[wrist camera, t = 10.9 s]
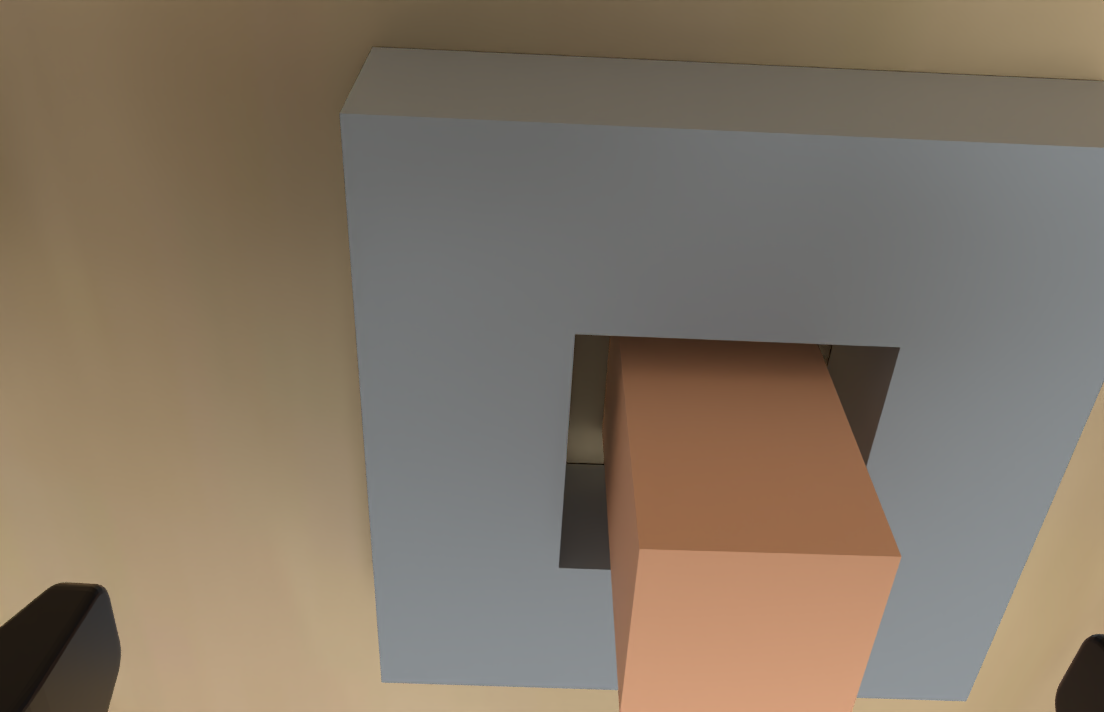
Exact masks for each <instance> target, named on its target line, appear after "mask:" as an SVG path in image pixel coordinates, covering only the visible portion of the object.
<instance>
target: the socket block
mask: <svg viewBox="0 0 1104 712" xmlns="http://www.w3.org/2000/svg"><path fill="white" fill-rule="evenodd" d="M340 126H341V140H342V153H343V167H344V180H345V194H346V207H347V221H348V234H349V248H350V261H351V275H352V288H353V302H354V315H355V329H356V342H357V356H358V369H359V383H360V396H361V410H362V423H363V437H364V450H365V464H366V477H367V491H368V504H369V518H370V531H371V545H372V558H373V572H374V585H375V599H376V612H377V626H378V639H379V653H380V666H381V680H382V682H385V683H416V684H447V685H478V686H509V687H541V688H572V689H603V690H618V679H617V663H616V647H615V630H614V614H613V598H612V582H611V566H610V549H609V533H608V517H607V501H606V485H605V468H604V465H589V464H566V456H567V442H568V427H569V413H570V399H571V384H572V370H573V355H574V341H575V334H582V335H607V336H632V337H657V338H682V339H706V340H731V341H756V342H781V343H806V344H830V345H832V349H831V354H830V358H829V362H828V366H827V369H828V371H829V374H830V376H831V379H832V381H833V384H834V387H835V389H836V392H837V394H838V397H839V399H840V402H841V404H842V407H843V409H844V412H845V414H846V417H847V420H848V422H849V425H850V427H851V430H852V432H853V435H854V437H855V440H856V442H857V445H858V447H859V450H860V453H861V455H862V458H863V460H864V463H865V465H866V468H867V470H868V473H869V475H870V478H871V480H872V483H873V486H874V488H875V491H876V493H877V496H878V498H879V501H880V503H881V506H882V508H883V511H884V514H885V516H886V519H887V521H888V524H889V526H890V529H891V531H892V534H893V536H894V539H895V541H896V544H897V547H898V549H899V552H900V554H901V560H900V563H899V566H898V569H897V572H896V576H895V579H894V582H893V585H892V588H891V591H890V594H889V597H888V601H887V604H886V607H885V610H884V613H883V616H882V619H881V622H880V625H879V629H878V632H877V635H876V638H875V641H874V644H873V647H872V650H871V654H870V657H869V660H868V663H867V666H866V669H865V672H864V675H863V678H862V682H861V685H860V688H859V691H858V694H857V697H856V698H883V699H914V700H945V701H966V700H967V698H968V696H969V694H970V691H971V689H972V687H973V684H974V682H975V680H976V677H977V675H978V673H979V670H980V668H981V666H982V663H983V661H984V659H985V656H986V654H987V652H988V649H989V647H990V645H991V642H992V640H993V638H994V635H995V633H996V631H997V628H998V626H999V624H1000V621H1001V619H1002V617H1003V614H1004V612H1005V610H1006V608H1007V605H1008V603H1009V601H1010V598H1011V596H1012V594H1013V591H1014V589H1015V587H1016V584H1017V582H1018V580H1019V577H1020V575H1021V573H1022V570H1023V568H1024V566H1025V563H1026V561H1027V559H1028V556H1029V554H1030V552H1031V549H1032V547H1033V545H1034V542H1035V540H1036V538H1037V535H1038V533H1039V531H1040V528H1041V526H1042V524H1043V522H1044V519H1045V517H1046V515H1047V512H1048V510H1049V508H1050V505H1051V503H1052V501H1053V498H1054V496H1055V494H1056V491H1057V489H1058V487H1059V484H1060V482H1061V480H1062V477H1063V475H1064V473H1065V470H1066V468H1067V466H1068V463H1069V461H1070V459H1071V456H1072V454H1073V452H1074V449H1075V447H1076V445H1077V442H1078V440H1079V438H1080V436H1081V433H1082V431H1083V429H1084V426H1085V424H1086V422H1087V419H1088V417H1089V415H1090V412H1091V410H1092V408H1093V405H1094V403H1095V401H1096V398H1097V396H1098V394H1099V391H1100V389H1101V387H1102V384H1103V382H1104V81H1091V80H1070V79H1048V78H1027V77H1005V76H984V75H963V74H941V73H920V72H898V71H877V70H856V69H834V68H813V67H791V66H770V65H749V64H727V63H706V62H685V61H663V60H642V59H620V58H599V57H578V56H556V55H535V54H513V53H492V52H471V51H449V50H428V49H406V48H385V47H372V49H371V51H370V53H369V55H368V57H367V59H366V61H365V63H364V65H363V67H362V69H361V71H360V73H359V75H358V77H357V79H356V81H355V83H354V85H353V87H352V89H351V91H350V93H349V95H348V97H347V99H346V101H345V103H344V105H343V107H342V109H341V111H340Z"/></svg>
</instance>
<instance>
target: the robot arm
mask: <svg viewBox="0 0 1104 712" xmlns="http://www.w3.org/2000/svg"><path fill="white" fill-rule="evenodd" d="M120 659H121V646H120V641H119V636H118V632H117V628H116V623H115V619H114V615H113V610H112V606H111V602H110V597H109V595H108V592H107V590H106V589H105V588H104V587H103V586H102V585H98V584H86V583H58V584H55V585H53V586H51V587H50V588H48V589H47V590H45V591H44V592H43V593H42V594H40V595H39V596H38V597H37V598H36V599H34V600H33V601H32V602H31V603H29V604H28V605H27V606H26V607H24V608H23V609H22V610H21V611H20V612H18V613H17V614H16V615H15V616H13V617H12V618H11V619H10V620H8V621H7V622H6V623H5V624H4V625H2V626H1V627H0V712H108V708H109V705H110V701H111V697H112V694H113V690H114V687H115V683H116V679H117V676H118V672H119V667H120ZM1055 708H1056V712H1104V634H1095V635H1092V636H1090V637H1088V638H1087V639H1086V640H1085V641H1084V642H1083V643H1082V645H1081V647H1080V649H1079V650H1078V652H1077V654H1076V656H1075V658H1074V659H1073V661H1072V663H1071V665H1070V666H1069V668H1068V670H1067V672H1066V674H1065V675H1064V677H1063V679H1062V681H1061V682H1060V684H1059V686H1058V689H1057V693H1056V698H1055Z"/></svg>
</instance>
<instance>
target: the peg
mask: <svg viewBox="0 0 1104 712" xmlns="http://www.w3.org/2000/svg"><path fill="white" fill-rule="evenodd" d="M602 436H603V452H604V468H605V485H606V501H607V517H608V533H609V549H610V566H611V582H612V598H613V614H614V630H615V647H616V663H617V679H618V695H619V711H620V712H852V710H853V707H854V703H855V700H856V697H857V694H858V691H859V688H860V685H861V682H862V678H863V675H864V672H865V669H866V666H867V663H868V660H869V657H870V654H871V650H872V647H873V644H874V641H875V638H876V635H877V632H878V629H879V625H880V622H881V619H882V616H883V613H884V610H885V607H886V604H887V601H888V597H889V594H890V591H891V588H892V585H893V582H894V579H895V576H896V572H897V569H898V566H899V563H900V560H901V554H900V552H899V549H898V547H897V544H896V541H895V539H894V536H893V534H892V531H891V529H890V526H889V524H888V521H887V519H886V516H885V514H884V511H883V508H882V506H881V503H880V501H879V498H878V496H877V493H876V491H875V488H874V486H873V483H872V480H871V478H870V475H869V473H868V470H867V468H866V465H865V463H864V460H863V458H862V455H861V453H860V450H859V447H858V445H857V442H856V440H855V437H854V435H853V432H852V430H851V427H850V425H849V422H848V420H847V417H846V414H845V412H844V409H843V407H842V404H841V402H840V399H839V397H838V394H837V392H836V389H835V387H834V384H833V381H832V379H831V376H830V374H829V371H828V369H827V366H826V364H825V361H824V359H823V356H822V354H821V351H820V348H819V346H818V344H806V343H781V342H756V341H731V340H706V339H682V338H657V337H632V336H610V342H609V354H608V366H607V378H606V390H605V402H604V414H603V426H602Z"/></svg>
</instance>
